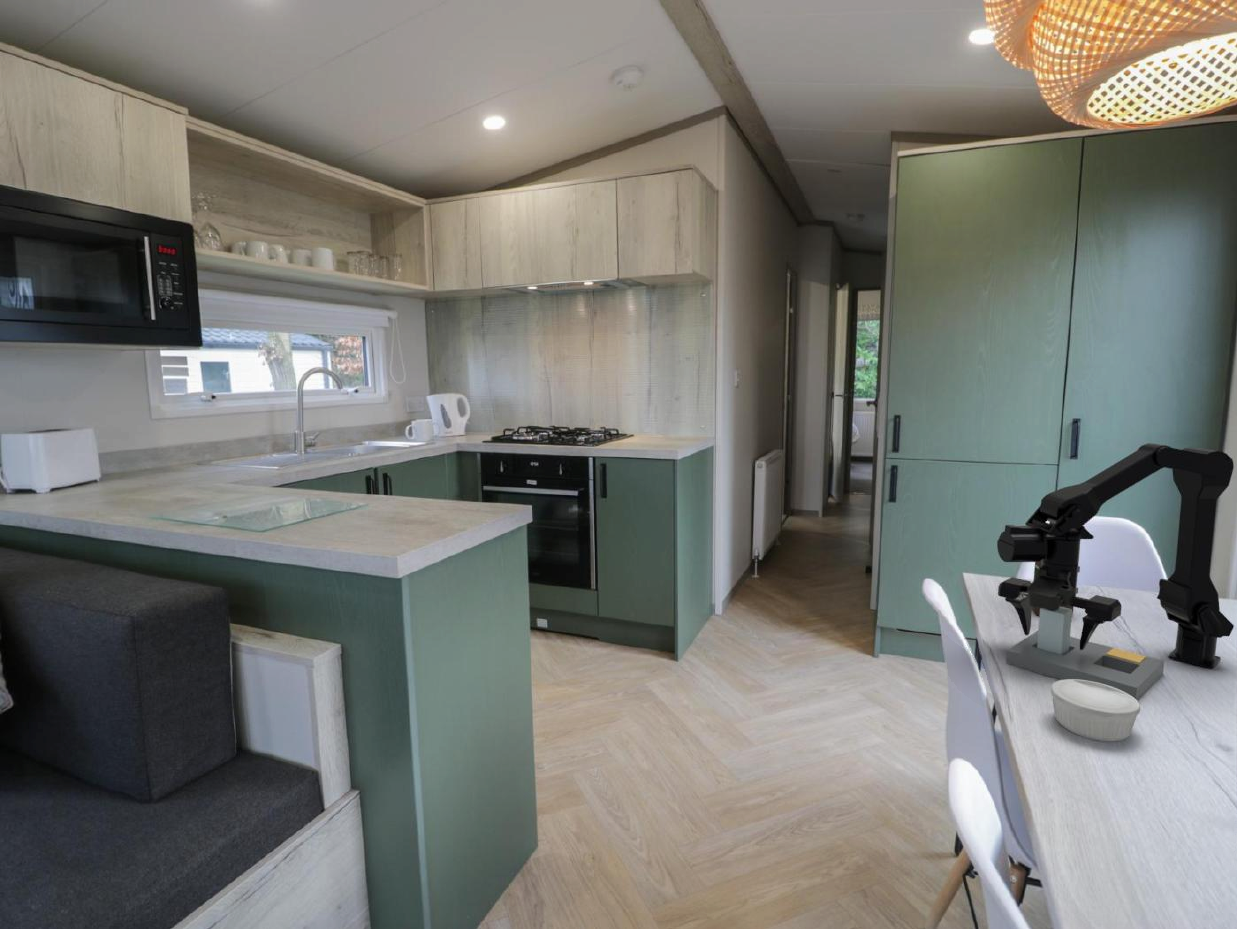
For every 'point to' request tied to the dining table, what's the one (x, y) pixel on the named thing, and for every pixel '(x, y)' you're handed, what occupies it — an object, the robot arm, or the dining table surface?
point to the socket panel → (1089, 664)
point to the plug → (1054, 630)
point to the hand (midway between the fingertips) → (1053, 641)
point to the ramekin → (1094, 709)
